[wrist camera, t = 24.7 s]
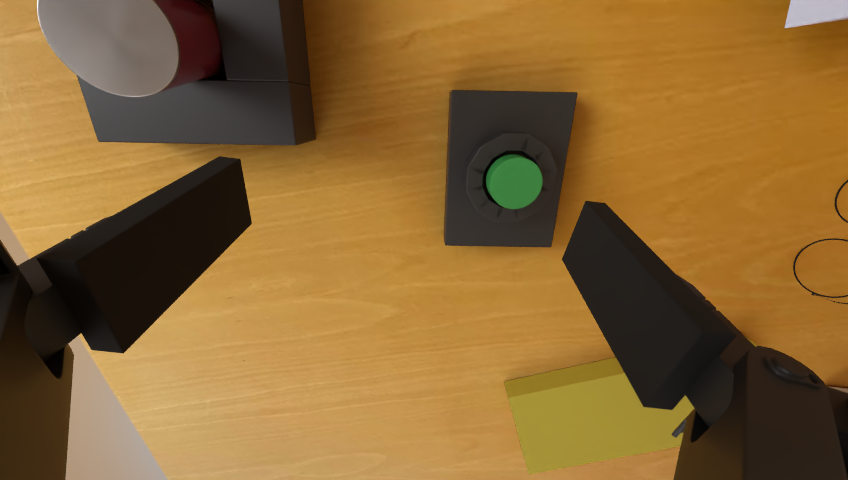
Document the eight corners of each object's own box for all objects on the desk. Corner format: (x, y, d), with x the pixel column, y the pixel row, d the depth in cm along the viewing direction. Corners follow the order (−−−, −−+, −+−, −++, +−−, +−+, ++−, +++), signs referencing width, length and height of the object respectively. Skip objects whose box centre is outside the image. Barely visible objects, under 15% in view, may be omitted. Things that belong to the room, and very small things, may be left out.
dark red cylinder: (148, 1, 22) (5, -33, 12) (222, -2, 23) (148, -36, 13) (178, 77, 25) (80, 102, 15) (244, 72, 26) (196, 92, 15)
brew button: (488, 153, 24) (492, 156, 22) (538, 154, 24) (546, 157, 22) (484, 202, 25) (488, 208, 24) (531, 203, 25) (538, 209, 24)
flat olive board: (523, 456, 41) (732, 415, 38) (528, 474, 39) (749, 433, 36) (504, 381, 36) (737, 330, 34) (508, 397, 34) (757, 344, 32)
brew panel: (449, 91, 26) (453, 88, 22) (565, 93, 26) (589, 91, 22) (443, 236, 30) (446, 254, 26) (543, 238, 30) (559, 256, 27)
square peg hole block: (89, -78, 22) (11, -121, 18) (295, -73, 22) (265, -116, 18) (148, 136, 27) (97, 141, 23) (316, 140, 27) (296, 145, 23)
